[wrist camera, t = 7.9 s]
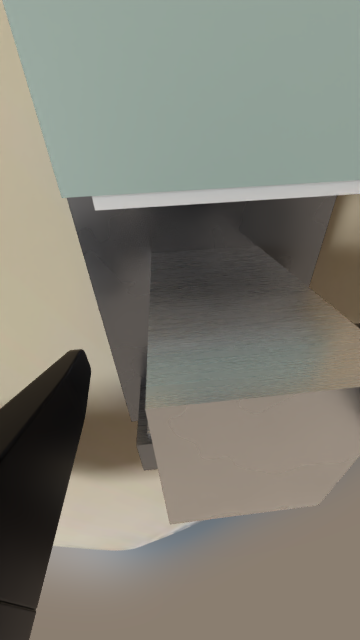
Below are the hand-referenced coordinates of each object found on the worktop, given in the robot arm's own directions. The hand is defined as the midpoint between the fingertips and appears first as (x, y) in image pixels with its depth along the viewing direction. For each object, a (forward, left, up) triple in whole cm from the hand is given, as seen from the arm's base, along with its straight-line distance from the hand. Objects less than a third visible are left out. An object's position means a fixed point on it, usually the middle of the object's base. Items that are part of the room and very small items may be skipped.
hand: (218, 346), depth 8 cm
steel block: (0, 0, -3) cm, 3 cm away
